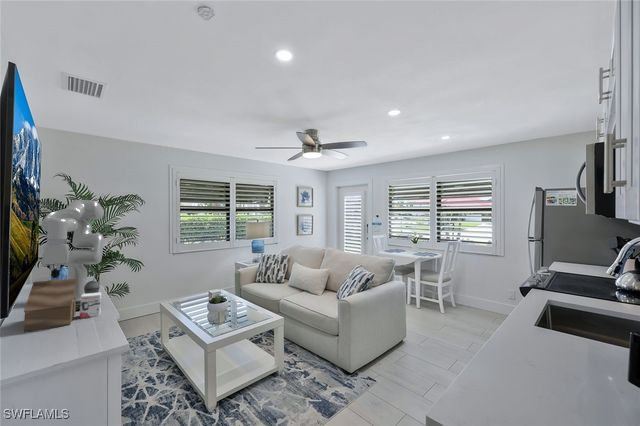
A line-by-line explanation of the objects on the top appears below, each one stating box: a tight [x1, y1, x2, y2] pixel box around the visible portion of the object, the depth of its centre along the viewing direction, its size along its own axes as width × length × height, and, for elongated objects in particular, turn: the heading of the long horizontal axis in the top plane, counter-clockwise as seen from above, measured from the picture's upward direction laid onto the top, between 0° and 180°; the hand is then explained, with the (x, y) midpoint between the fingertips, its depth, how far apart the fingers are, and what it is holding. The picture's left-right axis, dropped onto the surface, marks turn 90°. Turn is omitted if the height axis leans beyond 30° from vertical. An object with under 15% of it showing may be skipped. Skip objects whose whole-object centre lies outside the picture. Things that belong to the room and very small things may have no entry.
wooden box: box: [23, 298, 77, 332], centre depth 141 cm, size 18×16×9 cm
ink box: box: [79, 291, 102, 319], centre depth 152 cm, size 8×5×12 cm, turn 123°
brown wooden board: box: [23, 278, 76, 313], centre depth 140 cm, size 18×16×1 cm
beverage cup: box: [84, 273, 100, 294], centre depth 164 cm, size 7×7×20 cm
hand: (55, 277), depth 144 cm, fingers closed
